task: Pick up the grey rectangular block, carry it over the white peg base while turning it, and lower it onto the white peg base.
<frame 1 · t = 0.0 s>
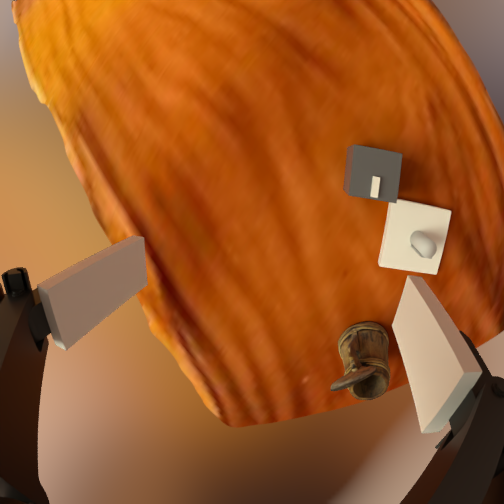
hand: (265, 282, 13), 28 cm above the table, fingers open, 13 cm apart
white peg base: (414, 235, 36), on the table
wooden mug: (358, 332, 43), on the table
grey rectangular block: (366, 171, 35), on the table
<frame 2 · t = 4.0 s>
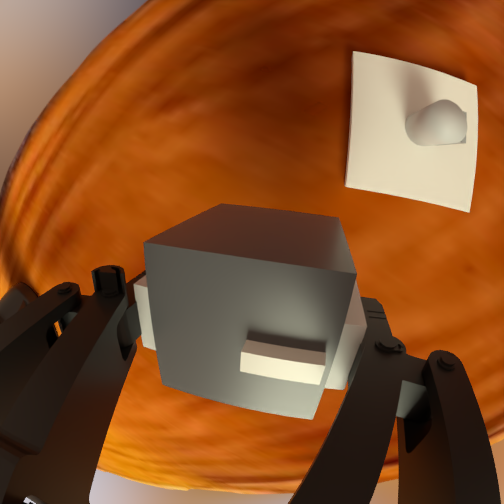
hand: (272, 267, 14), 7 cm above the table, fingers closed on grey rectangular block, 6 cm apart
white peg base: (414, 131, 16), on the table
grey rectangular block: (273, 265, 15), point 7 cm above the table, touching gripper
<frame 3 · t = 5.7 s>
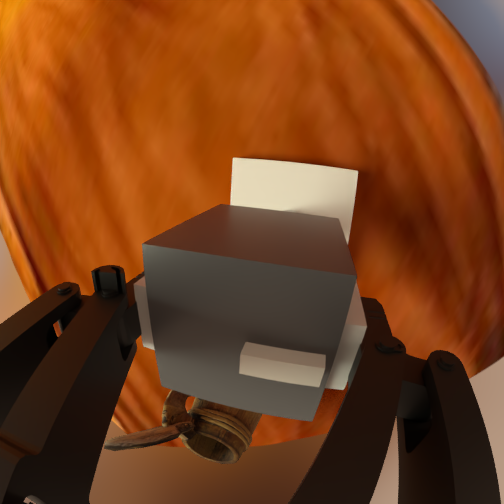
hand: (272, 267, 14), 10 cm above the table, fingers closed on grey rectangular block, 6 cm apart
white peg base: (290, 220, 24), on the table
wooden mug: (230, 363, 31), on the table
grey rectangular block: (272, 266, 15), point 10 cm above the table, touching gripper
when the fingers open (3 cm above the table, at t = 7.3 s): grey rectangular block drops 1 cm, resting on white peg base.
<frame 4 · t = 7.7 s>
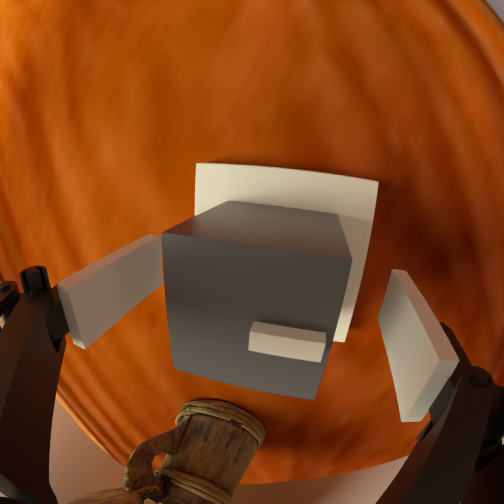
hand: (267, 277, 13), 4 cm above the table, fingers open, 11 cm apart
white peg base: (280, 250, 17), on the table
wooden mug: (209, 410, 24), on the table
grey rectangular block: (276, 258, 16), point 1 cm above the table, touching white peg base
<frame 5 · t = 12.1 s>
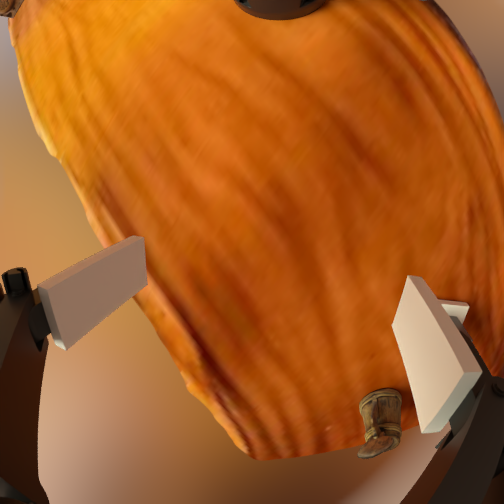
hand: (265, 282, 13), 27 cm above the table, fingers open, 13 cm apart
white peg base: (434, 325, 38), on the table
wooden mug: (377, 395, 45), on the table
coffee box: (18, 7, 33), on the table
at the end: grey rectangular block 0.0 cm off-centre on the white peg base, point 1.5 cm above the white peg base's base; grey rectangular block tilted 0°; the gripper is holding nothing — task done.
